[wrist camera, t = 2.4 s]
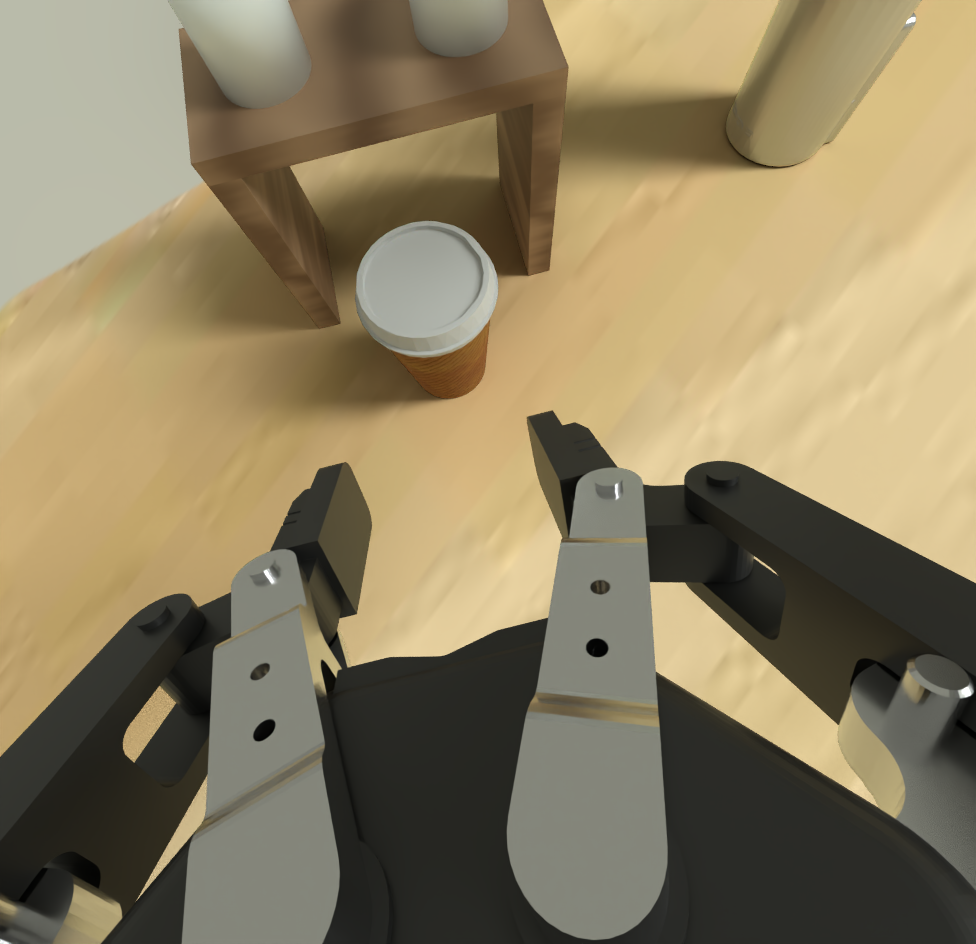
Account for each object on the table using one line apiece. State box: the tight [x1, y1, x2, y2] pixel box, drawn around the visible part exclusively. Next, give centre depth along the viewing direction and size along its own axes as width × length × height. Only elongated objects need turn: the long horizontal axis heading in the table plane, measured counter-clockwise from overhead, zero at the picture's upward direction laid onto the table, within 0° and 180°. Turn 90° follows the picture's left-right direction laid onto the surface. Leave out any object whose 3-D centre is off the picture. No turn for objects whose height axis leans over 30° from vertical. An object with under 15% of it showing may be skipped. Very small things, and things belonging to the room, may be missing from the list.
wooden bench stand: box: [179, 0, 568, 329], centre depth 35 cm, size 22×11×17 cm, turn 104°
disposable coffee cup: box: [355, 221, 498, 398], centre depth 34 cm, size 10×10×12 cm
